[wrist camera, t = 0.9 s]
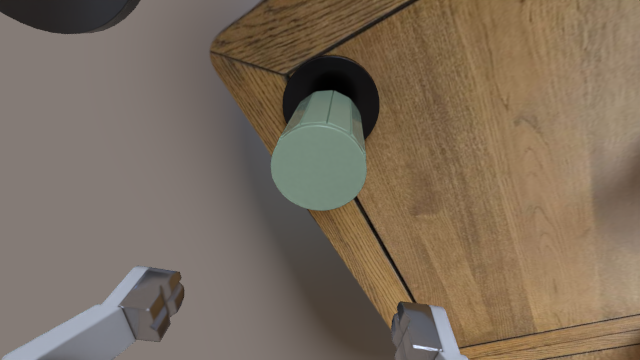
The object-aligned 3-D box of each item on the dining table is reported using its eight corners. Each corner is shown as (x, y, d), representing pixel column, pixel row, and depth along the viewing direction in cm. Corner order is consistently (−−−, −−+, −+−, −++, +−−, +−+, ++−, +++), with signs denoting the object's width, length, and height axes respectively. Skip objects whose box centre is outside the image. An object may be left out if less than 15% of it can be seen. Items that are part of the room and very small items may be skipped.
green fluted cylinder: (280, 116, 27) (250, 159, 18) (336, 76, 24) (330, 104, 16) (319, 165, 29) (308, 224, 21) (373, 133, 27) (384, 184, 18)
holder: (266, 93, 33) (206, 147, 19) (344, 31, 29) (341, 42, 15) (320, 163, 37) (303, 249, 23) (395, 117, 33) (430, 188, 19)
